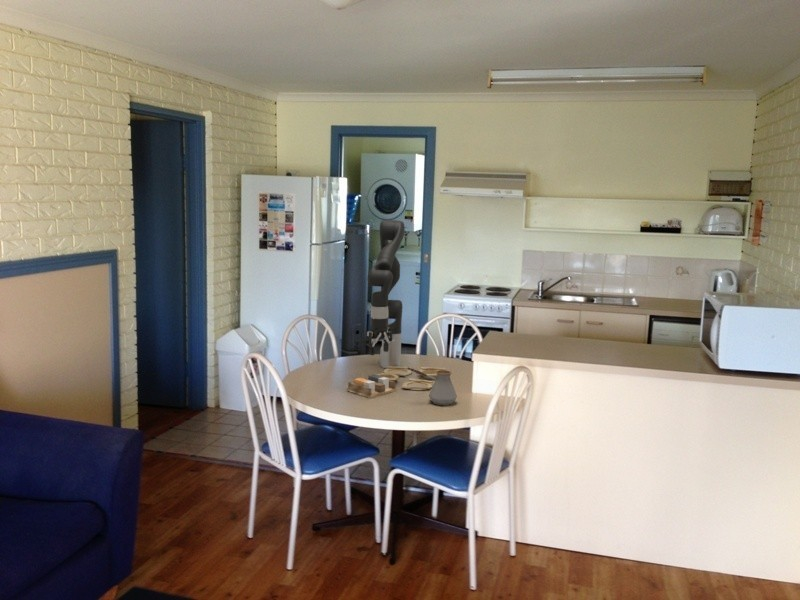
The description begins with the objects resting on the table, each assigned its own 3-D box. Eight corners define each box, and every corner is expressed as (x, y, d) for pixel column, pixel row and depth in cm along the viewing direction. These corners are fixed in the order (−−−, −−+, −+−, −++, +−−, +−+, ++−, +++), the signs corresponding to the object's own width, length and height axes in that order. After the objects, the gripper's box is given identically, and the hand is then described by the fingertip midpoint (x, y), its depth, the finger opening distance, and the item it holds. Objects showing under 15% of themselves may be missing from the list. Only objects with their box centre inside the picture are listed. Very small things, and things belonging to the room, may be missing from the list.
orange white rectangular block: (353, 389, 296) (353, 379, 295) (359, 387, 298) (359, 377, 298) (369, 393, 290) (369, 383, 289) (374, 392, 293) (375, 381, 292)
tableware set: (389, 368, 338) (389, 360, 338) (447, 374, 329) (448, 366, 329) (363, 386, 305) (364, 377, 305) (427, 394, 296) (427, 384, 296)
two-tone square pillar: (368, 385, 302) (368, 375, 301) (373, 384, 305) (374, 374, 304) (383, 389, 296) (383, 379, 295) (388, 388, 299) (389, 378, 298)
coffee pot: (453, 398, 290) (455, 363, 288) (459, 406, 279) (460, 370, 276) (403, 398, 287) (404, 363, 285) (406, 407, 276) (407, 370, 274)
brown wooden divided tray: (347, 391, 296) (347, 382, 295) (372, 384, 307) (372, 375, 307) (370, 398, 287) (370, 389, 286) (395, 391, 298) (396, 382, 298)
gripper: (384, 312, 303) (384, 348, 306) (361, 317, 292) (360, 354, 295) (397, 315, 298) (396, 352, 301) (374, 319, 287) (373, 357, 290)
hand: (378, 353), depth 298 cm, fingers open, 8 cm apart
